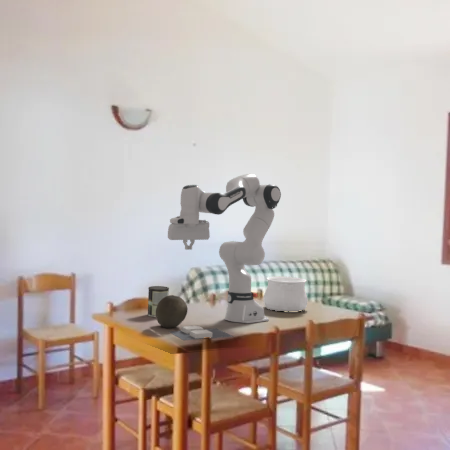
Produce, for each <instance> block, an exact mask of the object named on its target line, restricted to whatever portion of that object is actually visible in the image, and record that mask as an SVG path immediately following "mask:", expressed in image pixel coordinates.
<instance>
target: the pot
mask: <svg viewBox="0 0 450 450" xmlns="http://www.w3.org/2000/svg"><path fill="white" fill-rule="evenodd" d="M266 280H267V287H266V289H265V291H264V294H263V305H264V306H265V308H266V309H268V310H269V309H270V310H269V311H272V310H275V311H274V312H277V311H299V310H303V309H304V310H305V309H306V308H307V306H308V295H307V293H306V290H305V289H306V288H305V283H306V282H307V279H305V278H302V277H296V276H295V277H294V276H268V277H266ZM304 310H303V311H304Z"/></svg>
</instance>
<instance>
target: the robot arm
mask: <svg viewBox="0 0 450 450" xmlns="http://www.w3.org/2000/svg"><path fill="white" fill-rule="evenodd" d="M225 185H226V186H225V193H223V192H206V191H204V190H202V189H201V188H200V187H199V185H197V184H187V185H184V186H183V187H182V189H181V193H180V213H179V215H178V216H174V217H172V218H171V217H170V219H169V222H170V224H169V226H168V230H167V238H168V240H170V241H182V243H183V245H184V250H186V251H187V250H189V251H190V250H191V251H192V250H193V246H194V245H195V242H196V241H197V240H198V241H201V240H202V241H205V240H206V241H207V240H209V239H210V238H211V237H210V236H211V235H210V234H211V233H210V222H209V220H206V219H200V213H204V214H212V215H216V216H217V215H222V214H224V212H226V211H227V209H228V208H229V207H230V206H232V205H234V204H235V203H238V202H240V201H241V200H242V201H243V203H244V205H246V206H247V207H252V208H254V207H255V208H254V209H255V210H254V212H253V214H252V215H251V216H250V218H249V219H248V221H247V223H246V224H245V225H244V227H243V231H242V233H243V236H244V238H245V240H244V241H236V240H235V241H234V240H232V241H231V240H229V241H224V242H222V243H221V245H220V246H219V250H218V254H219V257H220V258H221V260H222V261H223V262H224V264H225V266H226V269H227V272H228V291H227V306H226V312H225V315H224V317H223V319H224V320H226V321H227V322H232V323H243V324H252V323H260V322H268V321H269V317H268V316H266V315H265V310H264V307H263V306H262V305H261V304H260V303H258V302H257V301H256V300H255V299H254V298H257V297H258V293H256V292H252V276H251V274H250V273H249V272H248V271H247V269H246V268H245V266H257V265H259V266H260V265H261V264H262V263H263V262H264V260H265V255H266V252H265V249H264V247H263V244H262V243H263V240H264V238H265V236H266V235H267V233H268V231H269V230H270V228H271V226H272V223H273V221H274V217H275V210H274V209H275V208H277V207H278V204H279V202H280V200H281V196H282V193H281V190H280V188H279V186H278V185H276V184H270V183H269V184H261V183H260V179H259V178H258V176H257V175H255V174H253V173H249V174H248V173H246V174H242V175H239V176H236V177H233V178H232V179H230V180H229V181H227V183H226V184H225ZM188 241H189V245H188Z"/></svg>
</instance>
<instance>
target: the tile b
mask: <svg viewBox="0 0 450 450" xmlns="http://www.w3.org/2000/svg"><path fill="white" fill-rule="evenodd" d="M190 336H192V337H194V338H195V340H199V339H198V338H204V337H212V332H210V331H208V330H195V331H190Z"/></svg>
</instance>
